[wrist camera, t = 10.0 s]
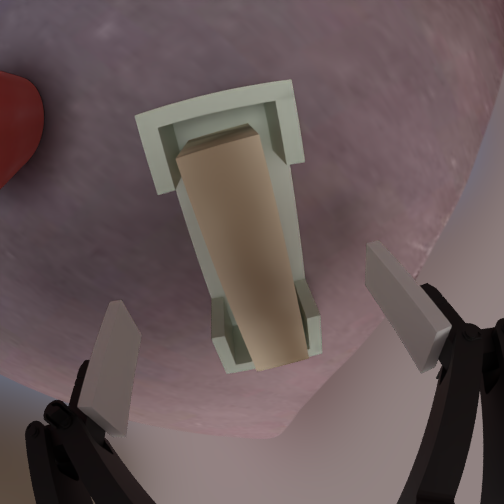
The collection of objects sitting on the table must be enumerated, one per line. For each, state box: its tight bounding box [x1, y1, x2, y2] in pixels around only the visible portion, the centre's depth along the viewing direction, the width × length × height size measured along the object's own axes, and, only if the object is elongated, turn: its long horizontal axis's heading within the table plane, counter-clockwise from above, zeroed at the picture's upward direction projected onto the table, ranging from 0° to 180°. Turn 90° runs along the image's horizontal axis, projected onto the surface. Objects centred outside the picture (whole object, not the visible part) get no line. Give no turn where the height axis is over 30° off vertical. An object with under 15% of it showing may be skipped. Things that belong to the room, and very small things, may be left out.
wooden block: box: [176, 123, 309, 372], centre depth 20 cm, size 4×16×6 cm, turn 14°
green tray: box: [135, 79, 322, 374], centre depth 20 cm, size 8×20×5 cm, turn 11°
